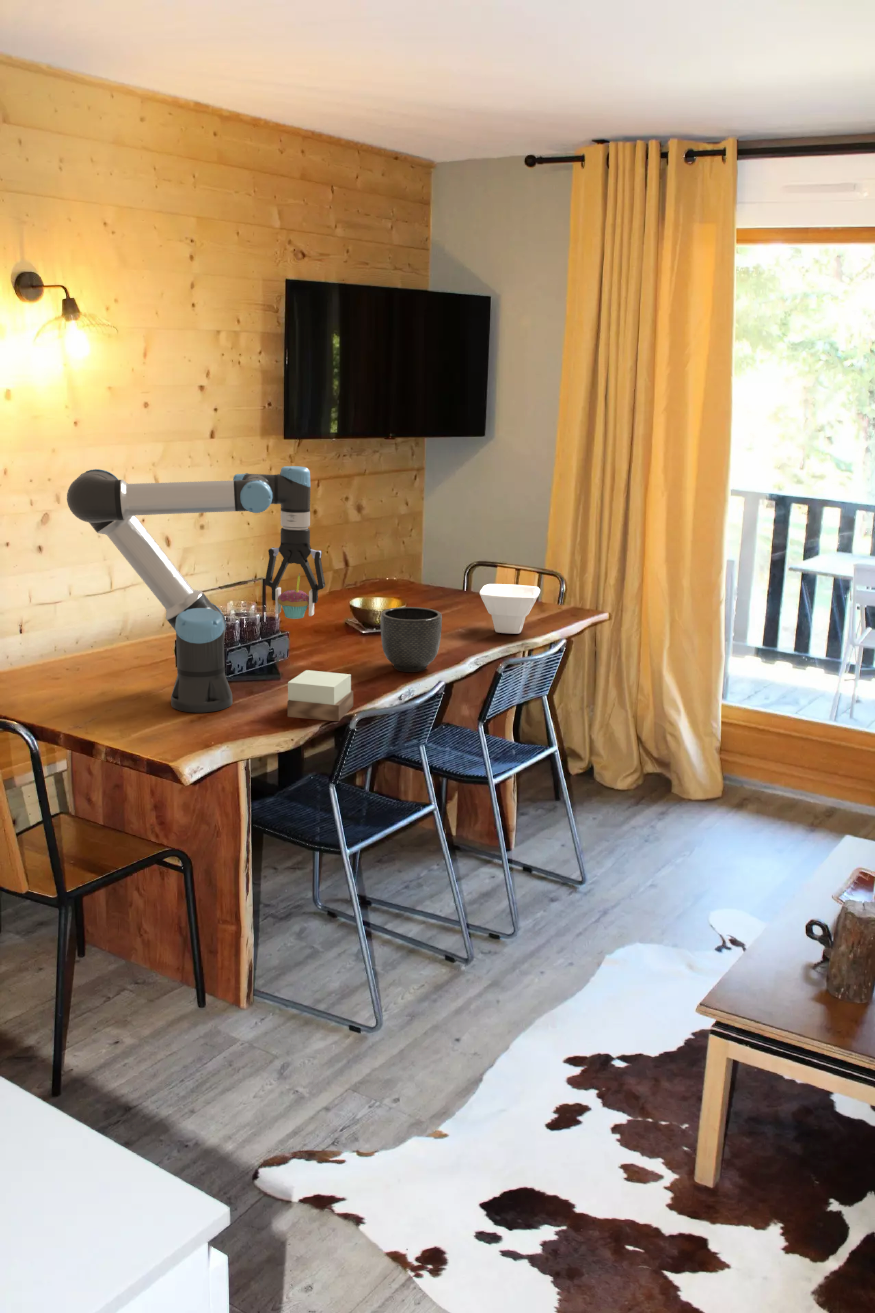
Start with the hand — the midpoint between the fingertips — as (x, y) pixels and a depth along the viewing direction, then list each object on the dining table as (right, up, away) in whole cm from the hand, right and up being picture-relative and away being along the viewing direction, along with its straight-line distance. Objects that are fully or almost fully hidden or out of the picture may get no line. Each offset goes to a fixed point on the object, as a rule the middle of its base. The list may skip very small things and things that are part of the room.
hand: (294, 613), depth 303 cm
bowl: (+60, -4, +71) cm, 93 cm away
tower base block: (+8, -25, -14) cm, 30 cm away
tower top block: (+8, -21, -15) cm, 27 cm away
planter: (+30, -15, +26) cm, 42 cm away
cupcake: (0, -1, 0) cm, 1 cm away
